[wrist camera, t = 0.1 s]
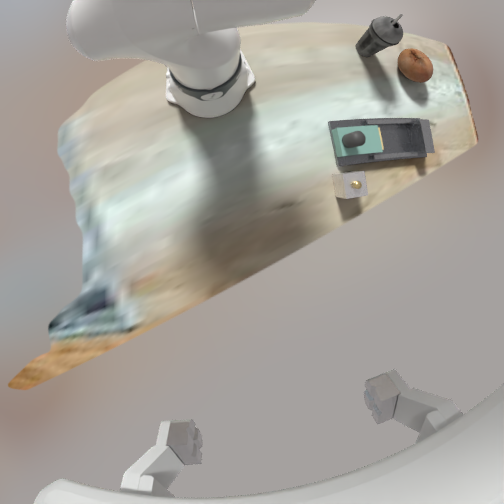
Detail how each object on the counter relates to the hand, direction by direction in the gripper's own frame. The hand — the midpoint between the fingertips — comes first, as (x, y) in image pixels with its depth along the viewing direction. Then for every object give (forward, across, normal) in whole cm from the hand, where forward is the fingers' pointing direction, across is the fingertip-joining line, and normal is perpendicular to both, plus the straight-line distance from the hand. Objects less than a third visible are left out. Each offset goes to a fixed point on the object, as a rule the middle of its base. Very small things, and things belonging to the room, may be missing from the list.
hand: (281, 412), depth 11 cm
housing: (+48, -24, -5) cm, 54 cm away
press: (+48, -36, -14) cm, 61 cm away
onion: (+48, -50, -33) cm, 77 cm away
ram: (+47, -28, -14) cm, 56 cm away
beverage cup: (+48, -38, -38) cm, 72 cm away
